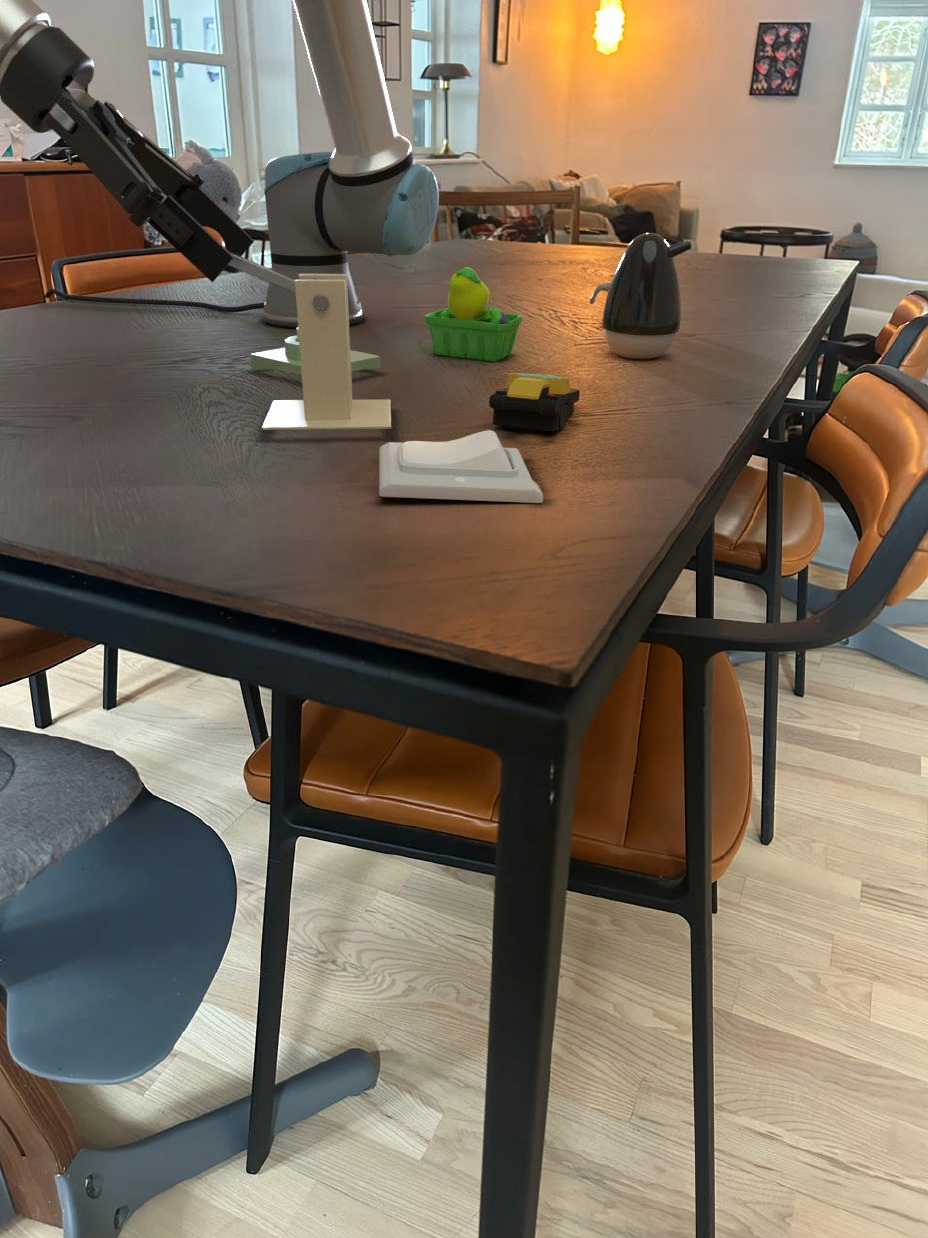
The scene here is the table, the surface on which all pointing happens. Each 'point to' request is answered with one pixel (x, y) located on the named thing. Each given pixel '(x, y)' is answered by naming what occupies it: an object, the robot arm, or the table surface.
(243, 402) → the table surface
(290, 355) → the button block
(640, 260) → the pump dispenser
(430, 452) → the light switch
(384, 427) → the bracket
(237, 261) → the lever
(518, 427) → the gadget
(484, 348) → the fruit basket
